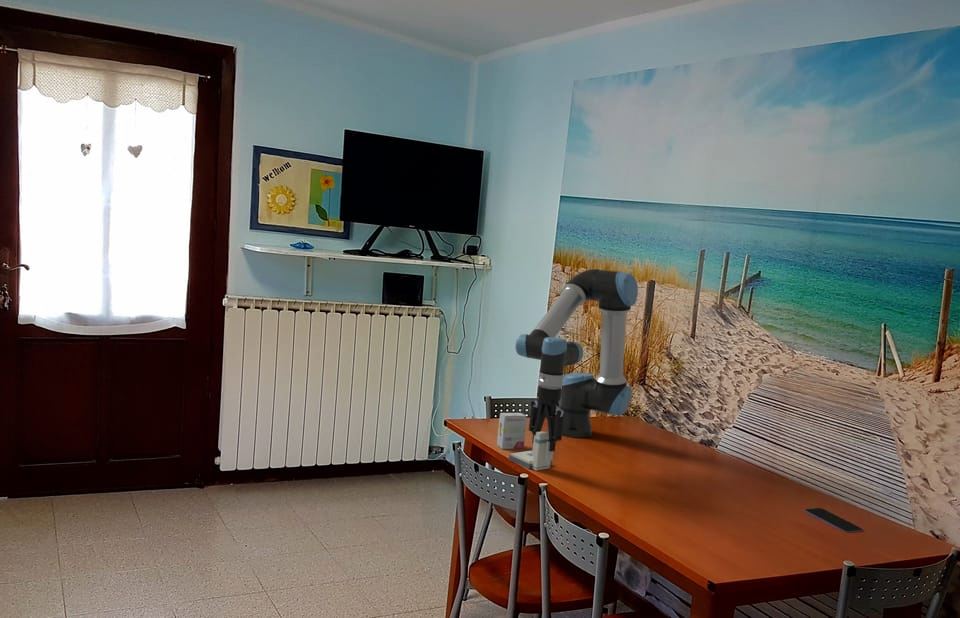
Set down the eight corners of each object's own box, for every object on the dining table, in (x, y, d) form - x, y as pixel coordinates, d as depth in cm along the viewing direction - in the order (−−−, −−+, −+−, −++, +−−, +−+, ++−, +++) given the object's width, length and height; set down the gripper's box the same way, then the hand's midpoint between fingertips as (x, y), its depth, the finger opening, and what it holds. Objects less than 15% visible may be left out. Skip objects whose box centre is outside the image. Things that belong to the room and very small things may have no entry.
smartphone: (846, 532, 196) (803, 509, 209) (845, 535, 196) (802, 512, 209) (864, 529, 199) (820, 507, 212) (864, 533, 199) (820, 511, 212)
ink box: (518, 444, 250) (521, 412, 249) (524, 448, 245) (527, 415, 244) (496, 445, 247) (499, 412, 246) (501, 449, 242) (505, 415, 241)
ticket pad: (531, 456, 238) (531, 449, 237) (551, 465, 230) (552, 458, 230) (508, 459, 231) (509, 453, 231) (529, 469, 224) (529, 462, 223)
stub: (545, 466, 228) (549, 430, 226) (549, 468, 226) (553, 431, 225) (532, 468, 224) (536, 432, 223) (536, 470, 222) (540, 433, 221)
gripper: (522, 380, 227) (514, 450, 229) (562, 393, 213) (553, 468, 215) (539, 379, 232) (531, 448, 234) (579, 392, 218) (570, 465, 220)
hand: (542, 457), depth 225 cm, fingers open, 5 cm apart
